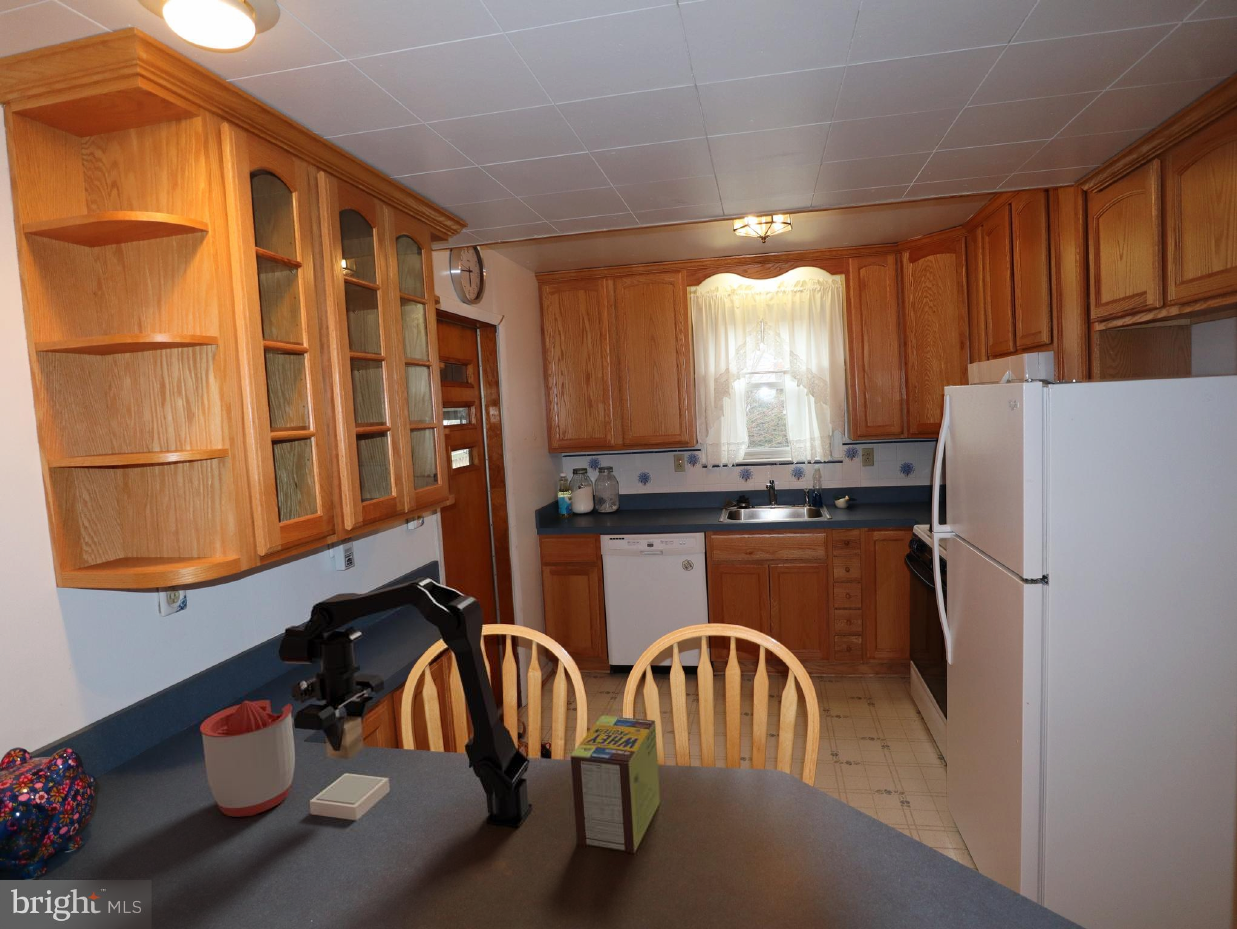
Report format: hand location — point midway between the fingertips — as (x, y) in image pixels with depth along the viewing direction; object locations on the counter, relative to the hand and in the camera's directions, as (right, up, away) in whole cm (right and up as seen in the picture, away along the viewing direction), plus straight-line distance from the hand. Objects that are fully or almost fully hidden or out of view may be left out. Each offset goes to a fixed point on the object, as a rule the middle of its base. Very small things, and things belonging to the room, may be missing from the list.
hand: (345, 744), depth 133 cm
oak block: (0, -2, 0) cm, 2 cm away
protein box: (+51, -10, -10) cm, 53 cm away
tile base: (+1, -11, +1) cm, 12 cm away
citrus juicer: (-18, -13, +4) cm, 22 cm away
